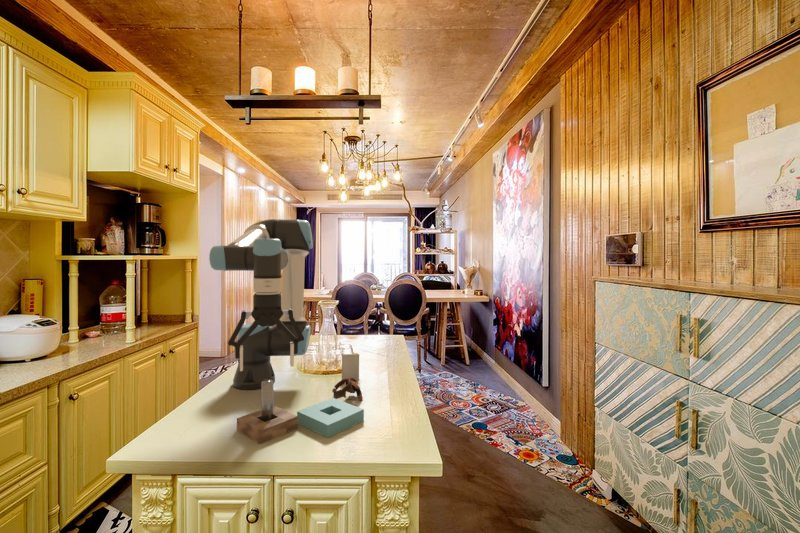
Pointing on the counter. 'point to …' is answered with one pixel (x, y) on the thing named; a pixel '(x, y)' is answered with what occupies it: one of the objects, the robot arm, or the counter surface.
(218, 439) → the counter surface
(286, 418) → the pin mount
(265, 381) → the pin
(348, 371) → the white box
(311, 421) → the dock socket
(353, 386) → the brown ring with knob
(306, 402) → the counter surface
